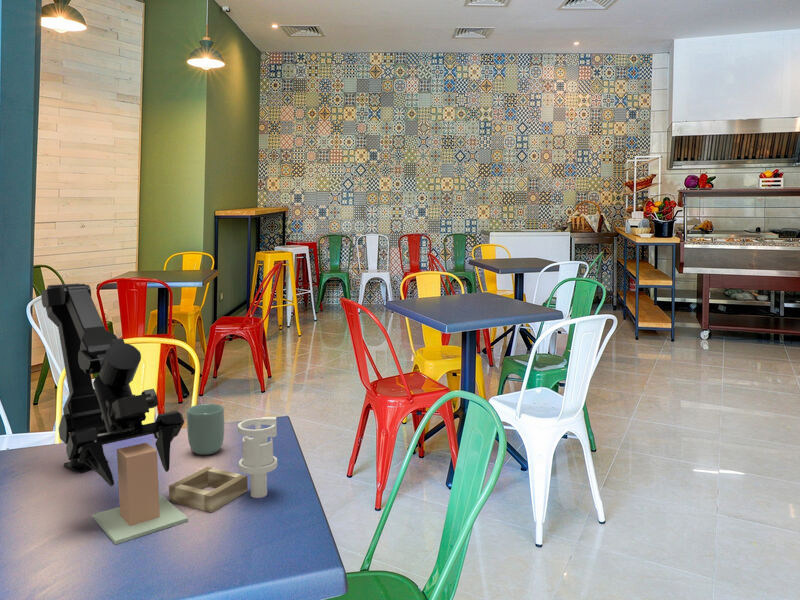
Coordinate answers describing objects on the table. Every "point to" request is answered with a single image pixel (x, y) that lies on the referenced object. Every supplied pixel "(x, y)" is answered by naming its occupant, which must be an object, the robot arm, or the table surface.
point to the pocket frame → (195, 497)
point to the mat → (124, 532)
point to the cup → (205, 428)
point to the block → (138, 483)
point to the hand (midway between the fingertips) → (140, 477)
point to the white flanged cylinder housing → (258, 453)
